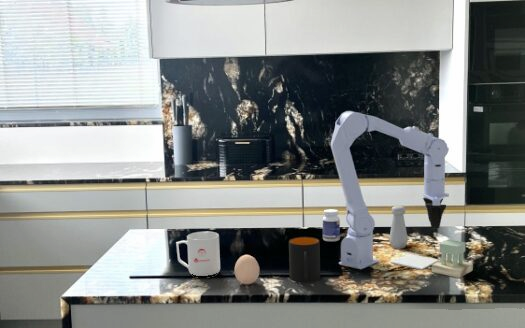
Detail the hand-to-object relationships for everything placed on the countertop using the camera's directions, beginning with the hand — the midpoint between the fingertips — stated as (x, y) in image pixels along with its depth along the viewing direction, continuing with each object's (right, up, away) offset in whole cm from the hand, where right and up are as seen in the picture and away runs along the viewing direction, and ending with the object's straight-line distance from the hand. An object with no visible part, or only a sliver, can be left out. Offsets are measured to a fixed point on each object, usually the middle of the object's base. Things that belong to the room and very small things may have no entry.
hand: (434, 224), depth 173 cm
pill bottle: (-27, -8, +26) cm, 38 cm away
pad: (-6, -11, -1) cm, 12 cm away
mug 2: (-39, -14, -13) cm, 43 cm away
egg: (-54, -15, -15) cm, 58 cm away
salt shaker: (-7, -9, +15) cm, 18 cm away
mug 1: (-68, -14, -5) cm, 70 cm away
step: (+2, -12, -10) cm, 16 cm away
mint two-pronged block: (+2, -10, -11) cm, 15 cm away
